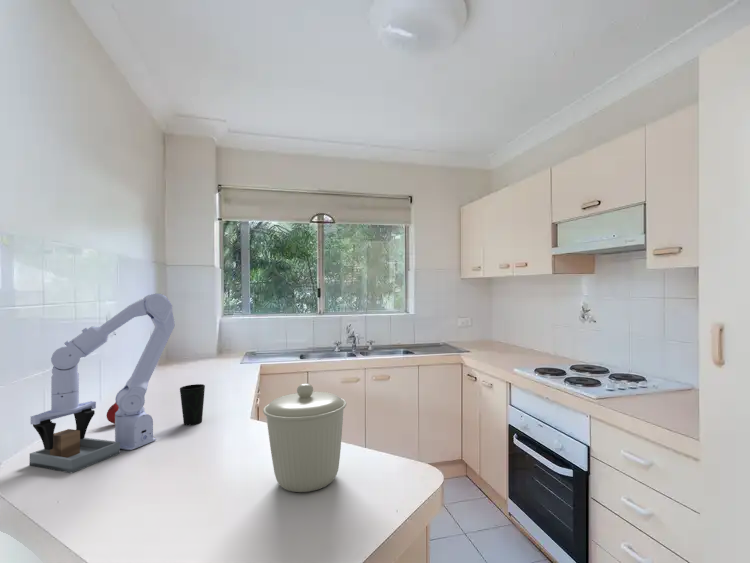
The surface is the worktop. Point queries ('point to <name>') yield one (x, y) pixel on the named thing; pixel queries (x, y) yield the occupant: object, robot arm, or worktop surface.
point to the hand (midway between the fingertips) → (65, 443)
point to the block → (66, 443)
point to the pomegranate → (112, 413)
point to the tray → (76, 456)
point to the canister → (305, 438)
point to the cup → (192, 403)
